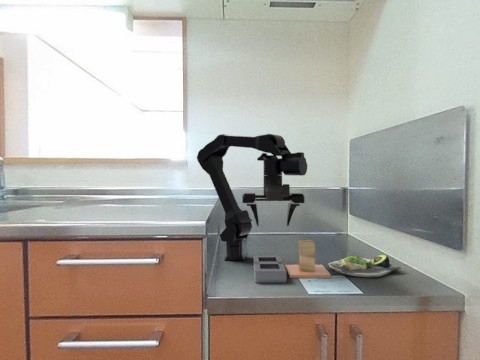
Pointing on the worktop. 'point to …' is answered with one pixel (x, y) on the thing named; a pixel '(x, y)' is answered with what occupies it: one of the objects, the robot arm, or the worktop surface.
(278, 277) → the grey slotted holder
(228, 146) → the robot arm
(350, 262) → the salad plate
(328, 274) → the terracotta tile
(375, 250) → the worktop surface
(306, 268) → the maple peg
